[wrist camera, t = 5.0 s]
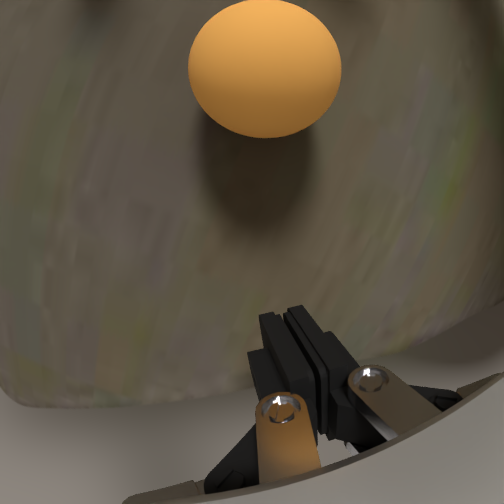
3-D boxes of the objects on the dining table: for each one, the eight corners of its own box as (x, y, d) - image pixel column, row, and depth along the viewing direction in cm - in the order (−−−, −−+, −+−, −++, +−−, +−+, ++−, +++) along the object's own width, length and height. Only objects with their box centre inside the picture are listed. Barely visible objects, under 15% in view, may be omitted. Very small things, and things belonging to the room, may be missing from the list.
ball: (299, 31, 13) (348, -21, 7) (318, 136, 14) (383, 126, 9) (183, 40, 12) (177, -23, 6) (199, 151, 14) (199, 144, 8)
